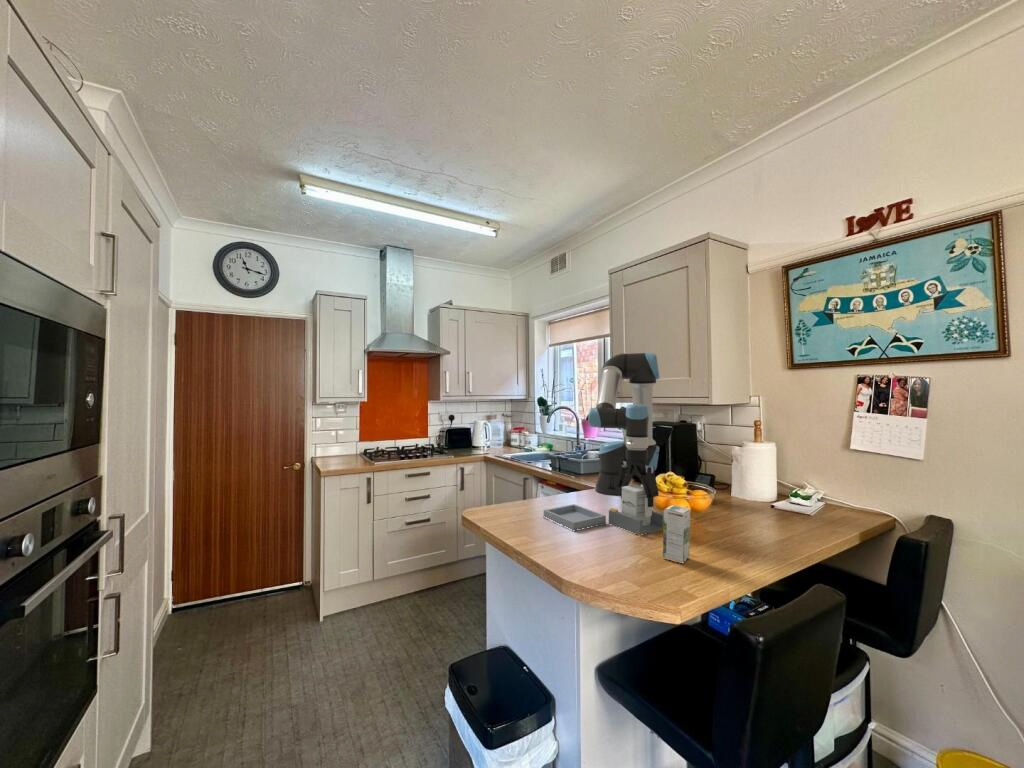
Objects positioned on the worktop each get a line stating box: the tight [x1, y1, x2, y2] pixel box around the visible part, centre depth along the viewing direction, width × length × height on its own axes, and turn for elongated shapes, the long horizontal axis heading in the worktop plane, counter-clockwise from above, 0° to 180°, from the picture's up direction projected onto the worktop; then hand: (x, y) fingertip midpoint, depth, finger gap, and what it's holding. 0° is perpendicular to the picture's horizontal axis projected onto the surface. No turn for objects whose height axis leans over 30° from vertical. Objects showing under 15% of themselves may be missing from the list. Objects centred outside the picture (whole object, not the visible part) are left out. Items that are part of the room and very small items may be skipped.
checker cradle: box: [608, 507, 664, 535], centre depth 146 cm, size 13×14×6 cm
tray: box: [543, 503, 607, 530], centre depth 152 cm, size 15×17×3 cm
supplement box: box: [620, 484, 651, 526], centre depth 146 cm, size 7×7×13 cm
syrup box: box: [662, 505, 691, 562], centre depth 119 cm, size 6×6×14 cm
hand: (636, 512), depth 146 cm, fingers open, 9 cm apart
